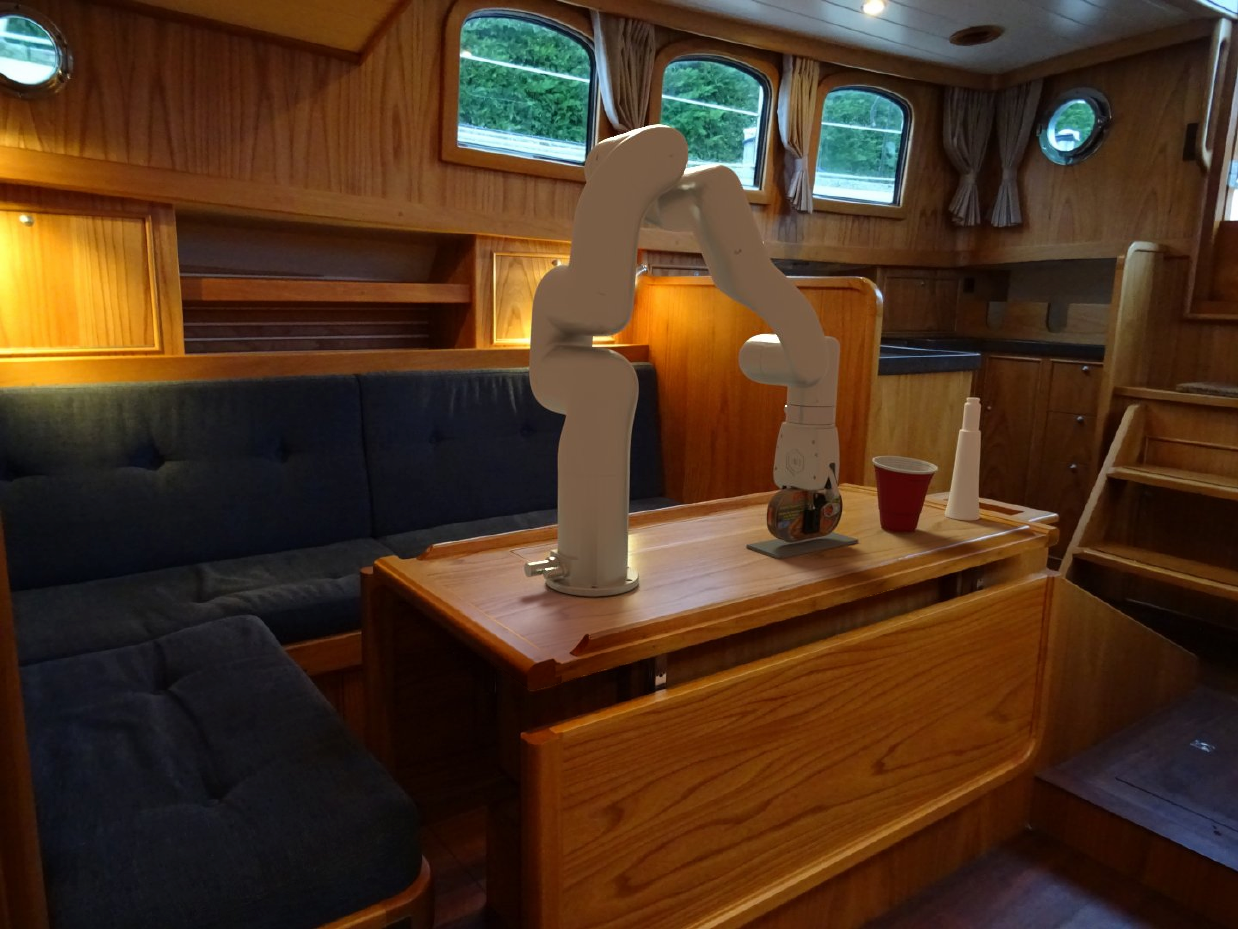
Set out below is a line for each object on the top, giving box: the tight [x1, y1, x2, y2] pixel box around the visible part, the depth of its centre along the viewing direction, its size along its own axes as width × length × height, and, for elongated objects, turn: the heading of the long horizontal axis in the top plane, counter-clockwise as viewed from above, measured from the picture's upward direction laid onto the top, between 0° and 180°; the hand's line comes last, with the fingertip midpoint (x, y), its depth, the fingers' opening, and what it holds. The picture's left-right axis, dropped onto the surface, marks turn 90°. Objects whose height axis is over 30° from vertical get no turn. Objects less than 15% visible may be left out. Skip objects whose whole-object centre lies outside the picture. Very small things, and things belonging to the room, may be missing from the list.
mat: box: [745, 531, 859, 560], centre depth 136 cm, size 18×7×1 cm, turn 124°
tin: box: [766, 488, 844, 543], centre depth 135 cm, size 15×3×8 cm, turn 124°
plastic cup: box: [871, 455, 939, 534], centre depth 146 cm, size 11×11×12 cm
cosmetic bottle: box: [944, 397, 982, 522], centre depth 155 cm, size 6×6×22 cm
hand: (803, 529), depth 136 cm, fingers closed on tin, 2 cm apart
